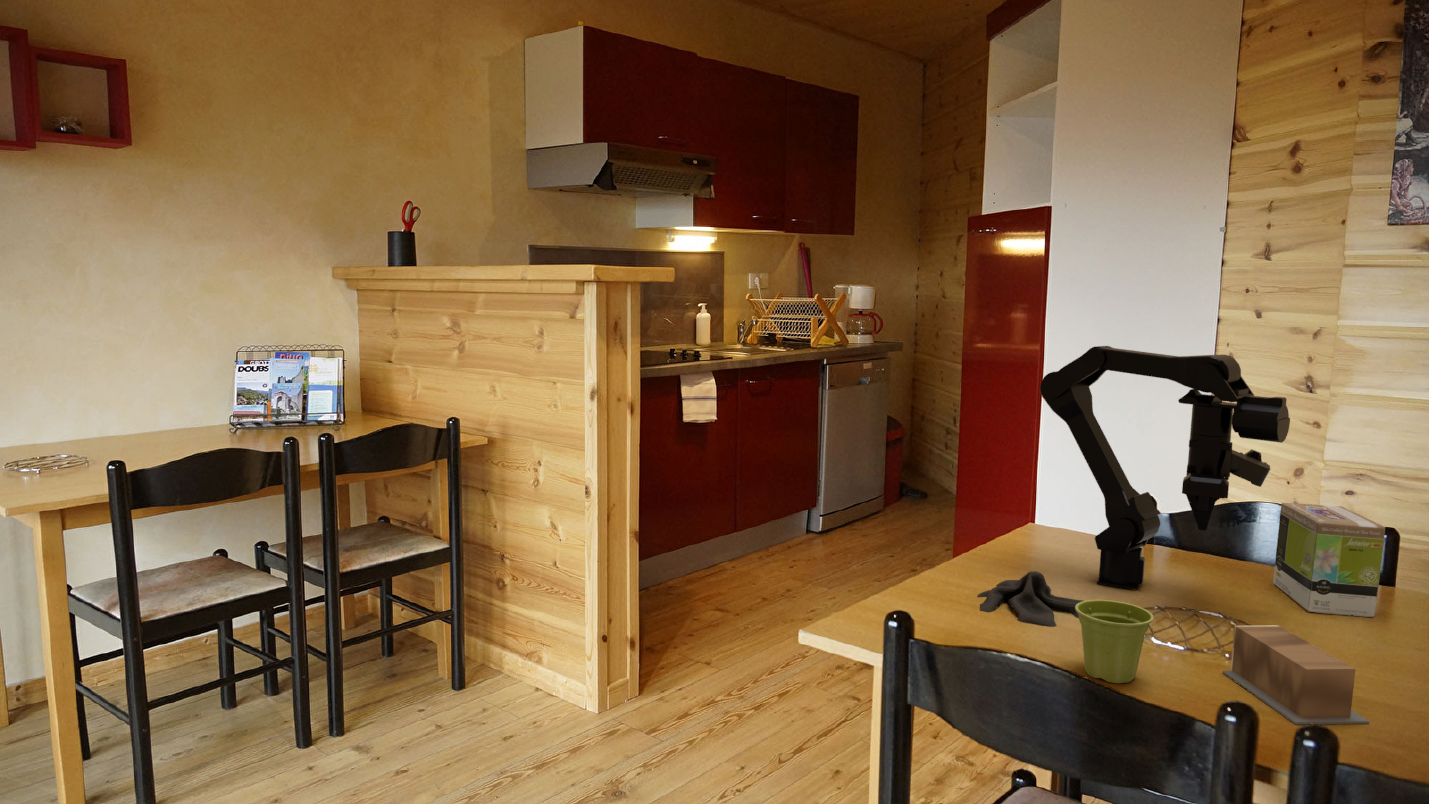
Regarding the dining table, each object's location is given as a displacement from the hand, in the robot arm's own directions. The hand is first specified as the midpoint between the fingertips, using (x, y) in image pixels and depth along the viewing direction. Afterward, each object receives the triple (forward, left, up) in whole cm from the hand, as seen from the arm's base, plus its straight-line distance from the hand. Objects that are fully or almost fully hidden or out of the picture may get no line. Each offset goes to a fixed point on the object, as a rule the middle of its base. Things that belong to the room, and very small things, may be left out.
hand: (1202, 529), depth 151 cm
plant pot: (-9, -38, -12) cm, 41 cm away
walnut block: (+7, -27, -9) cm, 29 cm away
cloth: (-24, -16, -13) cm, 32 cm away
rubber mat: (+12, -34, -12) cm, 38 cm away
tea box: (+18, +12, -12) cm, 25 cm away
